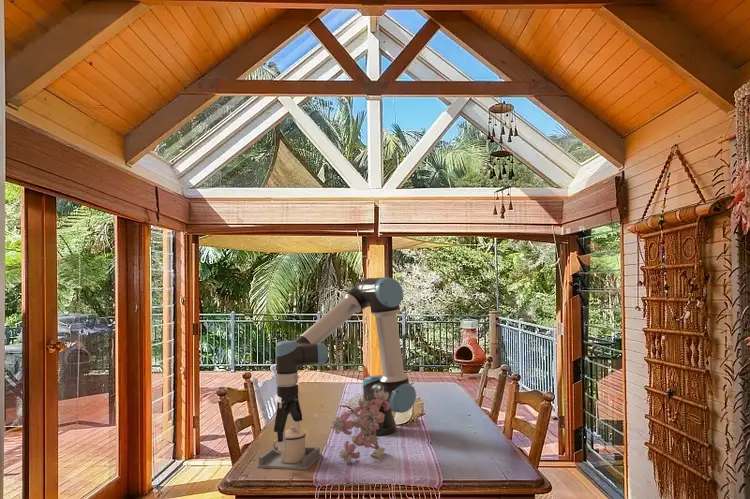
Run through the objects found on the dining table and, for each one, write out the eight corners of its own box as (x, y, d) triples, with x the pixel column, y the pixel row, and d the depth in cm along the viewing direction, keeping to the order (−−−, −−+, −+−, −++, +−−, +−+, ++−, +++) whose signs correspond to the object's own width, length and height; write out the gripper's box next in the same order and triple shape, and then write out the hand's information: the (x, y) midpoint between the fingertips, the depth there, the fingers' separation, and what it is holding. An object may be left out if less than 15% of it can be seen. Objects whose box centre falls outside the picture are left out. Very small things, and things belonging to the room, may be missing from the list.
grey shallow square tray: (321, 455, 207) (321, 446, 208) (306, 469, 192) (305, 460, 192) (276, 453, 212) (276, 444, 212) (257, 467, 196) (257, 458, 196)
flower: (338, 442, 217) (327, 389, 208) (396, 435, 217) (387, 381, 207) (336, 482, 199) (324, 426, 189) (399, 474, 198) (390, 417, 189)
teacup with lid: (308, 455, 205) (307, 423, 206) (303, 463, 196) (302, 429, 196) (275, 456, 206) (275, 423, 206) (269, 464, 197) (268, 430, 197)
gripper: (283, 392, 189) (285, 456, 188) (309, 378, 214) (311, 435, 212) (262, 391, 191) (264, 455, 190) (291, 378, 215) (292, 434, 214)
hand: (289, 444), depth 201 cm, fingers open, 13 cm apart
